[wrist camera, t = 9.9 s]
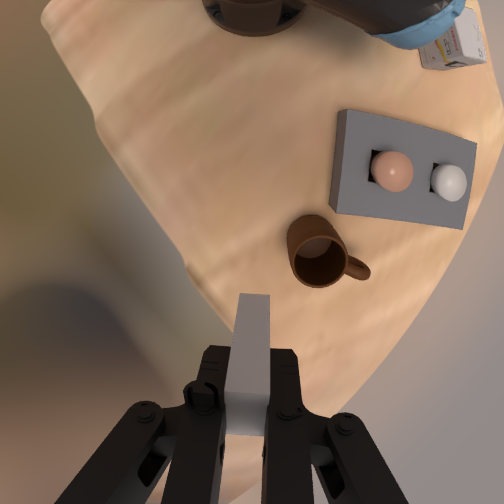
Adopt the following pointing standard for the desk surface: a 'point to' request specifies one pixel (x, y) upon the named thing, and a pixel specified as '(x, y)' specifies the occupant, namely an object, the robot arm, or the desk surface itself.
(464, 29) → the ink box
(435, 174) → the grey plug
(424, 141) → the panel
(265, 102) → the desk surface
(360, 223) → the desk surface
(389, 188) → the terracotta plug
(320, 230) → the mug
